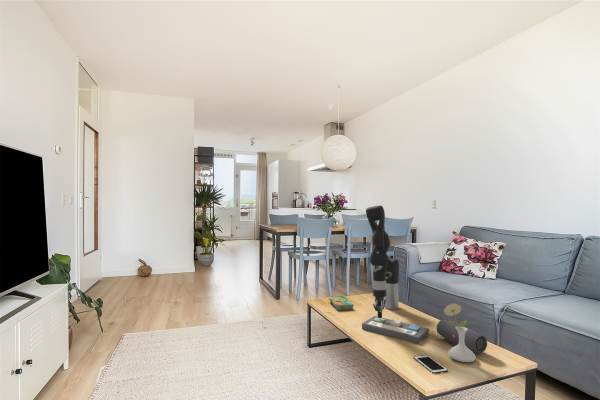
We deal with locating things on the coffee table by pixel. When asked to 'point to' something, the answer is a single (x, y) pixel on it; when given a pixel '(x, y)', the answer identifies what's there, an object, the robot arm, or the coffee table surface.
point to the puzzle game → (341, 302)
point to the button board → (396, 330)
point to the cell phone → (430, 364)
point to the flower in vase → (460, 350)
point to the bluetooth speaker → (472, 338)
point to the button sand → (396, 323)
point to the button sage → (379, 320)
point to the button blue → (413, 328)
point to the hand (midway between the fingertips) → (379, 317)
